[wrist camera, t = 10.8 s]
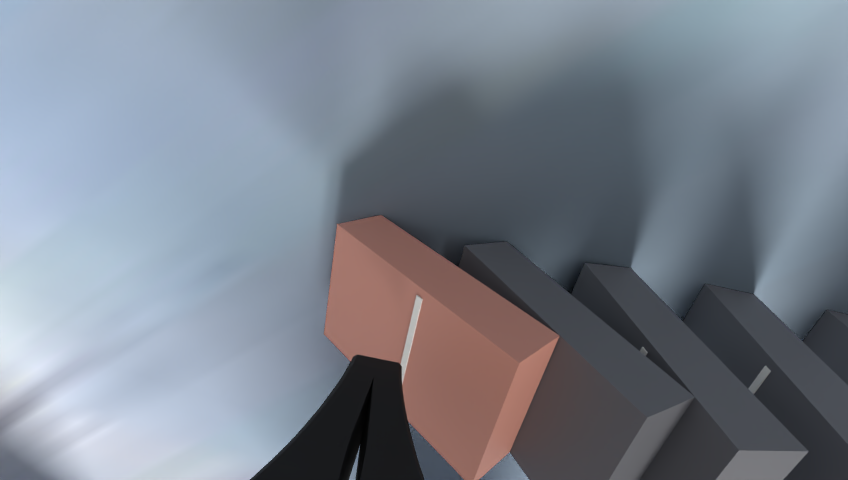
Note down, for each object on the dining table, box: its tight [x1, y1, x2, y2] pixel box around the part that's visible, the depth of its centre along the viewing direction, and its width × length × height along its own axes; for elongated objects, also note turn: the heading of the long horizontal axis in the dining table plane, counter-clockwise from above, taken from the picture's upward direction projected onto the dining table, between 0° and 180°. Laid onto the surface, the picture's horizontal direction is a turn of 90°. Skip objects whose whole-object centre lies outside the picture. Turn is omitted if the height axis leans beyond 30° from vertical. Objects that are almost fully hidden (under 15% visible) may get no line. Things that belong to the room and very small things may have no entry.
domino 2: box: [571, 263, 809, 480], centre depth 15 cm, size 2×5×8 cm, turn 168°
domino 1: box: [459, 242, 695, 480], centre depth 15 cm, size 2×5×8 cm
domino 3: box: [683, 284, 848, 480], centre depth 15 cm, size 2×5×8 cm, turn 169°
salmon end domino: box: [324, 215, 559, 480], centre depth 15 cm, size 2×5×8 cm
